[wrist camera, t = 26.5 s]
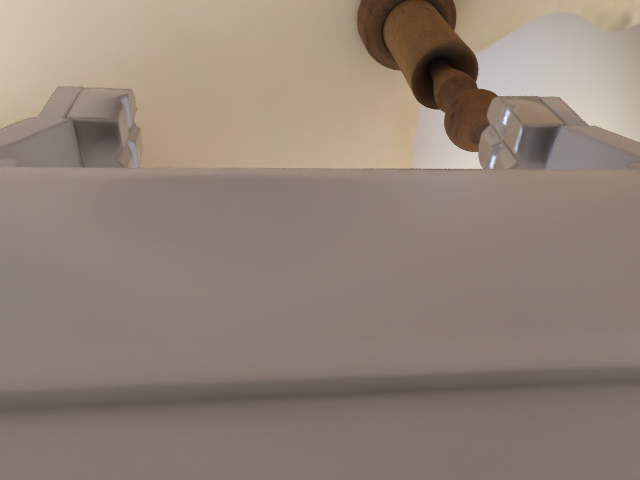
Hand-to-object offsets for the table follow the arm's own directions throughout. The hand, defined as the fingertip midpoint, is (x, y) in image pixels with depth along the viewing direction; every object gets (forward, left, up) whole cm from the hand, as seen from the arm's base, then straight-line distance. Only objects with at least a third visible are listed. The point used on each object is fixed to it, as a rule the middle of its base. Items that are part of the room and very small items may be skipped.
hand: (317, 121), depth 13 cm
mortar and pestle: (+5, -10, -29) cm, 31 cm away
